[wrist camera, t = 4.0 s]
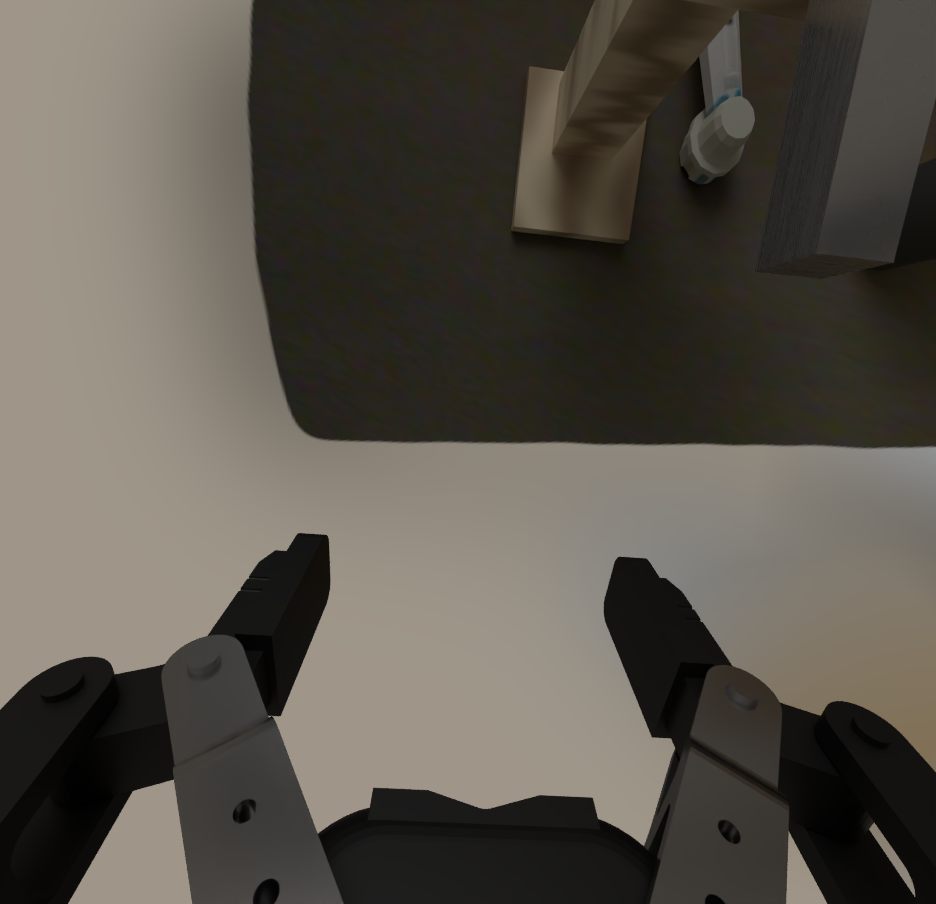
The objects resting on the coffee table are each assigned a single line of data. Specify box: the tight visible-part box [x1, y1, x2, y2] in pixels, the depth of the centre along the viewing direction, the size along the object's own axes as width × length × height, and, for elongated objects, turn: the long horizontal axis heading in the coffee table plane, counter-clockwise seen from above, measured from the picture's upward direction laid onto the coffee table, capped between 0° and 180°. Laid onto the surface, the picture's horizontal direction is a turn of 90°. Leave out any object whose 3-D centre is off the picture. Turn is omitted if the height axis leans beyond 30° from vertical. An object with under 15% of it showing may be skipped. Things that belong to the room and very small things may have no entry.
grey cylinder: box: [679, 11, 755, 184], centre depth 41 cm, size 5×7×25 cm
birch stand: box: [511, 0, 809, 244], centre depth 28 cm, size 12×16×32 cm
